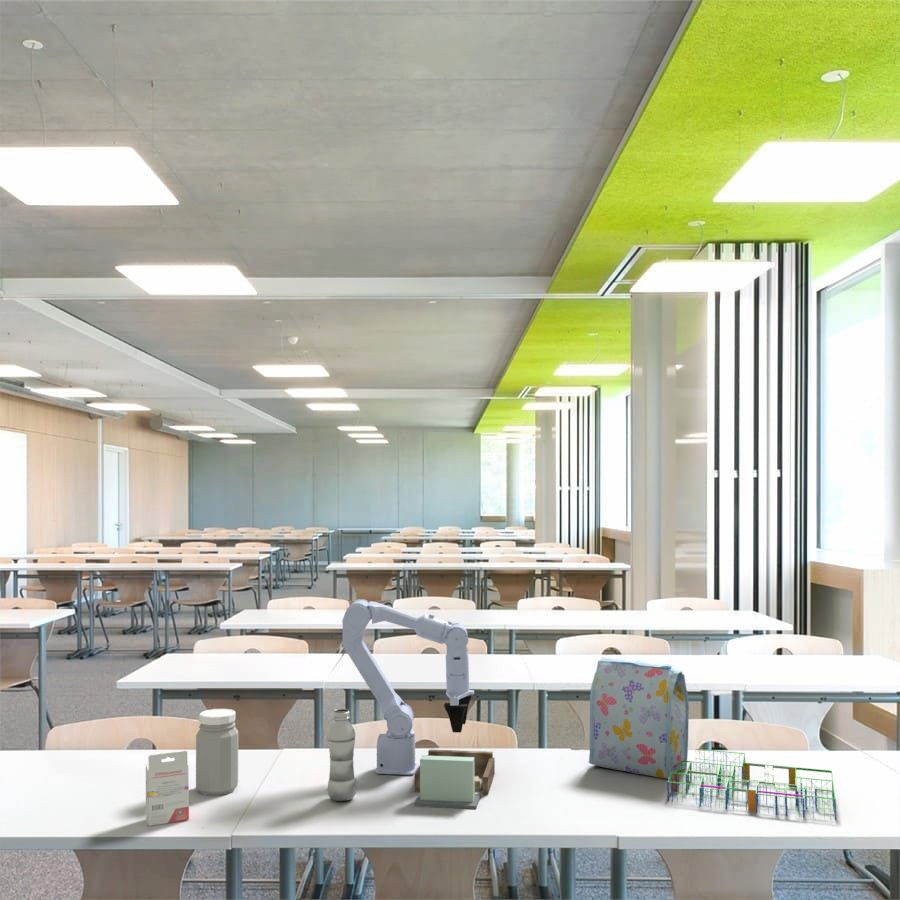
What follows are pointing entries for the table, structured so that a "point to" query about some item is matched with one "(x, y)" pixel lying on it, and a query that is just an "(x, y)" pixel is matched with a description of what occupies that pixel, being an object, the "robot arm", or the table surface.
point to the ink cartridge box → (167, 789)
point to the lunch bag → (638, 718)
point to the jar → (217, 752)
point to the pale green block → (447, 778)
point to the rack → (482, 765)
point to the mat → (448, 803)
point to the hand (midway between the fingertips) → (459, 728)
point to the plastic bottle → (341, 757)
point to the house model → (749, 794)
